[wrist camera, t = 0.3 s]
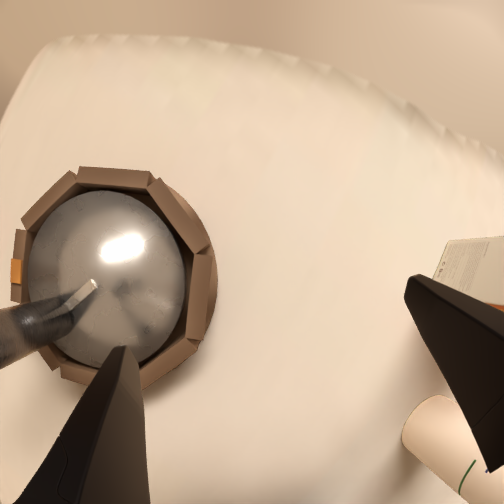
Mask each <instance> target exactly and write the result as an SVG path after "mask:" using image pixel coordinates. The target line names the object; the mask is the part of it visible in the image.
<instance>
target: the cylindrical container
mask: <svg viewBox="0 0 504 504" xmlns="http://www.w3.org/2000/svg"><path fill="white" fill-rule="evenodd" d="M402 443H403V445H404V446H405V447H406V448H407V449H408V450H409V451H410V452H411V453H413V454H414V455H415V456H416V457H417V458H418V459H419V460H420V461H421V462H422V463H424V464H425V465H426V466H427V467H428V468H429V469H430V470H431V471H432V472H434V473H435V474H436V475H437V476H438V477H439V478H440V479H441V480H443V481H444V482H445V483H446V484H447V485H448V486H449V487H451V488H452V489H453V490H454V491H455V492H456V493H457V494H459V495H460V496H461V497H462V498H463V499H464V500H466V501H467V502H468V503H469V504H504V465H503V466H502V467H500V468H499V469H497V470H495V471H494V472H492V473H491V474H490V473H489V471H488V469H487V466H486V464H485V462H484V459H483V457H482V454H481V452H480V450H479V447H478V445H477V443H476V440H475V438H474V436H473V434H472V432H471V429H470V427H469V425H468V423H467V421H466V419H465V417H464V414H463V412H462V410H461V408H460V406H459V404H458V403H456V402H454V401H452V400H451V399H449V398H447V397H445V396H443V395H435V396H432V397H430V398H428V399H426V400H425V401H423V402H422V403H421V404H420V405H418V406H417V407H416V408H415V409H414V411H413V412H412V413H411V414H410V416H409V418H408V419H407V421H406V423H405V425H404V428H403V431H402Z"/></svg>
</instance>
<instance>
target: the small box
mask: <svg viewBox="0 0 504 504" xmlns="http://www.w3.org/2000/svg"><path fill="white" fill-rule="evenodd" d="M433 280H435V281H437V282H440V283H442V284H444V285H447V286H449V287H451V288H453V289H456V290H458V291H460V292H462V293H464V294H467V295H469V296H471V297H473V298H475V299H478V300H480V301H482V302H484V303H486V304H488V305H490V306H493V307H495V308H497V309H499V310H501V311H503V312H504V236H497V237H486V238H474V239H461V240H449V241H448V244H447V246H446V248H445V251H444V254H443V256H442V259H441V261H440V263H439V266H438V268H437V270H436V273H435V275H434V277H433Z"/></svg>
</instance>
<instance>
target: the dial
mask: <svg viewBox="0 0 504 504" xmlns="http://www.w3.org/2000/svg"><path fill="white" fill-rule="evenodd" d="M28 290H29V295H30V300H31V302H30V303H25V304H21V305H17V306H12V307H8V308H3V309H0V369H2V368H4V367H6V366H8V365H10V364H12V363H14V362H16V361H18V360H20V359H22V358H24V357H26V356H27V355H29V354H31V353H33V352H35V351H37V350H39V349H41V348H43V347H45V346H47V345H49V344H51V343H54V344H55V345H56V346H57V347H58V348H60V349H61V350H62V351H63V352H64V353H66V354H67V355H69V356H70V357H72V358H73V359H75V360H77V361H79V362H81V363H84V364H87V365H90V366H93V367H98V368H100V367H101V365H102V364H103V362H104V361H105V359H106V358H107V356H108V355H109V353H110V352H111V350H112V349H113V348H114V347H115V346H121V345H127V346H128V347H129V349H130V350H131V352H132V354H133V355H134V357H135V359H136V360H137V362H140V361H143V360H144V359H146V358H147V357H149V356H151V355H152V354H153V353H154V352H155V351H157V350H158V349H159V348H160V347H161V346H162V344H163V343H164V342H165V341H166V340H167V338H168V337H169V335H170V334H171V332H172V331H173V329H174V327H175V326H176V324H177V322H178V320H179V318H180V316H181V313H182V310H183V307H184V304H185V298H186V293H187V273H186V266H185V261H184V257H183V254H182V251H181V248H180V245H179V243H178V241H177V239H176V237H175V235H174V234H173V232H172V231H171V229H170V228H169V227H168V225H167V224H166V223H165V222H164V221H163V219H162V218H160V217H159V216H158V215H157V214H156V213H155V212H154V211H152V210H151V209H150V208H149V207H147V206H146V205H144V204H143V203H141V202H140V201H138V200H136V199H134V198H132V197H130V196H127V195H124V194H121V193H117V192H111V191H94V192H88V193H84V194H81V195H78V196H76V197H74V198H71V199H69V200H68V201H66V202H65V203H63V204H62V205H60V206H59V207H58V208H57V209H56V210H54V211H53V212H52V213H51V215H50V216H49V217H48V218H47V219H46V220H45V222H44V223H43V225H42V226H41V228H40V230H39V232H38V233H37V235H36V237H35V240H34V243H33V245H32V248H31V252H30V256H29V263H28Z"/></svg>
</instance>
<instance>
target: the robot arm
mask: <svg viewBox="0 0 504 504" xmlns="http://www.w3.org/2000/svg"><path fill="white" fill-rule="evenodd" d="M404 300H405V303H406V305H407V307H408V309H409V311H410V313H411V315H412V318H413V320H414V322H415V324H416V326H417V328H418V330H419V332H420V334H421V336H422V338H423V340H424V342H425V344H426V345H427V347H428V349H429V351H430V352H431V354H432V356H433V358H434V359H435V361H436V363H437V365H438V366H439V368H440V370H441V372H442V374H443V376H444V377H445V379H446V381H447V383H448V385H449V387H450V389H451V391H452V393H453V394H454V396H455V398H456V400H457V402H458V404H459V406H460V408H461V410H462V412H463V414H464V417H465V419H466V421H467V423H468V425H469V427H470V429H471V432H472V434H473V436H474V438H475V440H476V443H477V445H478V447H479V450H480V452H481V454H482V457H483V459H484V462H485V464H486V466H487V469H488V471H489V473H490V474H491V473H492V472H494V471H495V470H497V469H499V468H500V467H502V466H503V465H504V312H503V311H501V310H499V309H497V308H495V307H493V306H490V305H488V304H486V303H484V302H482V301H480V300H478V299H475V298H473V297H471V296H469V295H467V294H464V293H462V292H460V291H458V290H456V289H453V288H451V287H449V286H447V285H444V284H442V283H440V282H437V281H435V280H433V279H431V278H428V277H426V276H424V275H421V274H417V275H414V276H411V277H409V279H408V281H407V286H406V290H405V293H404ZM59 435H60V436H58V437H57V439H56V441H55V443H54V444H53V446H52V448H51V449H50V451H49V453H48V455H47V456H46V458H45V459H44V461H43V463H42V464H41V466H40V467H39V469H38V470H37V472H36V473H35V475H34V476H33V477H32V479H31V480H30V482H29V483H28V485H27V486H26V488H25V489H24V491H23V492H22V494H21V495H20V497H19V498H18V499H17V500H16V501H15V502H14V503H13V504H151V503H150V494H149V484H148V473H147V459H146V441H145V416H144V405H143V398H142V390H141V381H140V372H139V365H138V362H137V360H136V359H135V357H134V355H133V354H132V352H131V350H130V349H129V347H128V346H127V345H121V346H115V347H114V348H113V349H112V350H111V352H110V353H109V355H108V356H107V358H106V359H105V361H104V362H103V364H102V365H101V367H100V368H99V370H98V372H97V373H96V375H95V376H94V378H93V379H92V381H91V383H90V384H89V386H88V387H87V389H86V391H85V392H84V394H83V395H82V397H81V399H80V400H79V402H78V404H77V405H76V407H75V409H74V410H73V412H72V414H71V415H70V417H69V419H68V420H67V422H66V424H65V425H64V427H63V429H62V431H61V432H60V434H59Z"/></svg>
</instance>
